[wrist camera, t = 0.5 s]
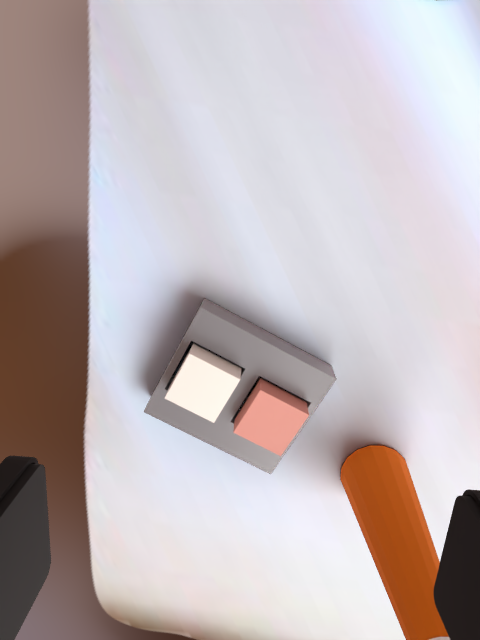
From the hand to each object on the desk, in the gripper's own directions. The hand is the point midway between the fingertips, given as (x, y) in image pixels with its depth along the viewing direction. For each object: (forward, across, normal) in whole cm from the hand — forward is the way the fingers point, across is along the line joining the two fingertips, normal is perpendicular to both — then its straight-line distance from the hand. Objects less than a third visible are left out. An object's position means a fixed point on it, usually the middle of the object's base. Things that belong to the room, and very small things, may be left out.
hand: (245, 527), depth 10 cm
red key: (+30, -3, +13) cm, 33 cm away
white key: (+30, +3, +10) cm, 32 cm away
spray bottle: (+33, -14, +22) cm, 43 cm away
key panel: (+33, 0, +11) cm, 35 cm away
